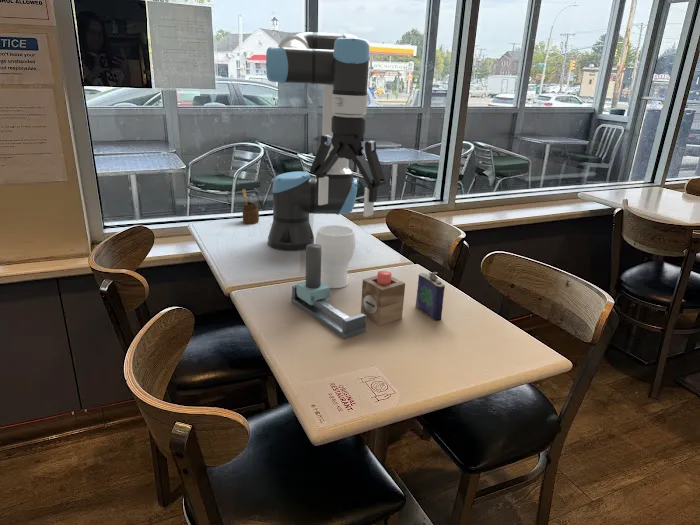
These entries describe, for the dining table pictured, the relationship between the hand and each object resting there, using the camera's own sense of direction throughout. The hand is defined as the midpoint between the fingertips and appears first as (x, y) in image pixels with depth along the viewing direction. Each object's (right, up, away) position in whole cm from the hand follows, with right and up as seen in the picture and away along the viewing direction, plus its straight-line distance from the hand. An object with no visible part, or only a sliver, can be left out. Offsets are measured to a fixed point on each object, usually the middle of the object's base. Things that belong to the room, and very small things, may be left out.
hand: (344, 209), depth 116 cm
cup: (-3, -18, +20) cm, 27 cm away
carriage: (-8, -21, +5) cm, 23 cm away
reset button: (+9, -19, 0) cm, 21 cm away
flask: (+20, -25, +5) cm, 33 cm away
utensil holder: (-36, +3, +70) cm, 78 cm away
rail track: (-4, -25, +1) cm, 25 cm away
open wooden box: (+9, -25, +2) cm, 27 cm away
